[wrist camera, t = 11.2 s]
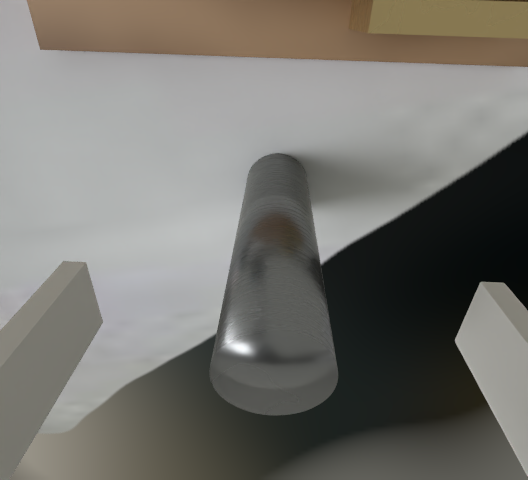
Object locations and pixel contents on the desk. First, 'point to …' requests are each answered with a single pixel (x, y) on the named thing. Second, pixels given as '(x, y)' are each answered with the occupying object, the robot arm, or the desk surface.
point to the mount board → (251, 32)
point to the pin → (275, 300)
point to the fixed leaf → (442, 17)
